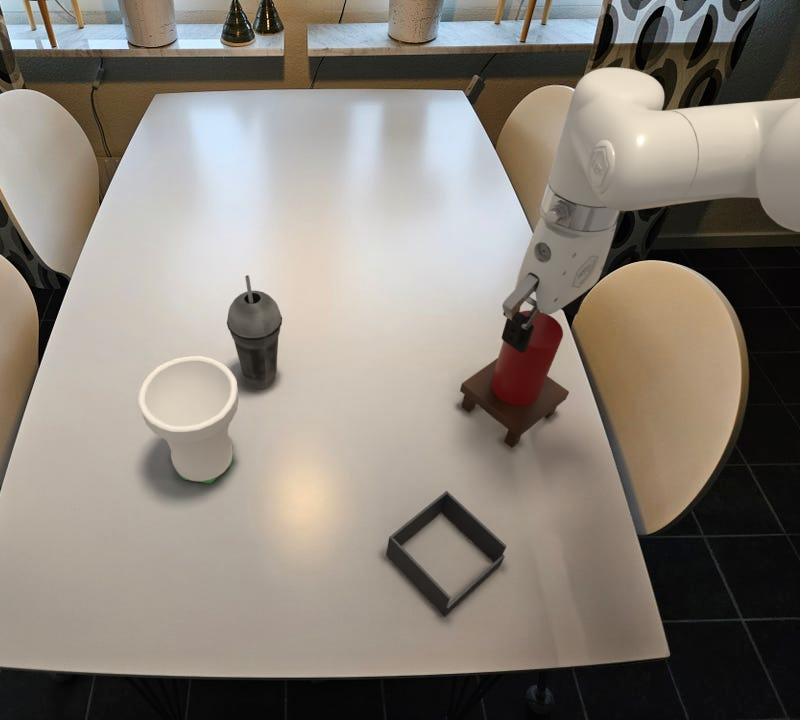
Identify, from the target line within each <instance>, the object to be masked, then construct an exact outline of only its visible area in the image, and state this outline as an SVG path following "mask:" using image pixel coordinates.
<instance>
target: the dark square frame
mask: <svg viewBox="0 0 800 720" xmlns="http://www.w3.org/2000/svg"><path fill="white" fill-rule="evenodd" d="M441 514H442V515H443V516H444V517H445V518H446V519H447V520H448V521H449V522H450V523H451V524H453V525H454V526H455V527H456V528H457V530H459V532H460V533H462V534H463V535H464V536H465V537H466V538H467V539H468V540H469V541H470V542H471V543H472V544H473V545H475V546H476V547H477V549H478V550H480V551H481V552H482V554H484V555H485V556H486V557H487V558H488V559H489V560H490V561H491V562H493V563H492V564H490V565H489V567H487V568H486V569H485V570H484V571H482V573H480V575H479V576H478V577H476V578H475V579H474V580H473V581H472V582H471V583H470V584H469V585H468V586H466V587H465V588H464V589H463V590H462V591H461V592H460V593H459V594H458V595H457V596H456V597H455V598H453V600H451V598H452V597H451V595H450V594H449V593H448V592H447V591H446V590H444V588H443V587H442V586H441V585H440V584H439V583H438V582H437V581H436V580H435V579H434V578H433V577H432V576H431V575H430V574H429V573H428V572H427V571H426V570H425V569H424V568H423V567H422V565H420V564H419V563H418V561H416V559H414V557H413V556H412V555H411V554H410V553H409V552H408V551H407V549H405V548H404V547H403V545H404V544H405V543H407V542H409V540H410V539H411V538H412V537H414V536H415V535H417V534H418V533H419V532H420V531H421V530H422V529H423V528H425V527H426V526H428V524H430V523H431V522H432V521H434V519H436V518H437V517H439V515H441ZM507 547H508V545H507V544H505V543H504V542H503V540H501V539H500V538H499V537H498V536H497V535H495V534H494V533H493V532H492V531H491V530H490V529H489V528H488V527H487V526H486V525H484V524H483V523H482V522H481V520H480V519H478V518H477V517H476V516H475V515H474V514H473V513H472V512H471V511H469V510H468V509H467V507H465V506H464V505H463V504H462V503H461V502H460V501H459V500H458V499H456V498H455V497H454V496H453V495H452V494H451V493H450V492H449V491H448V490H446V491H444V492H443V493H442V494H441V495H439V496H438V497H437V498H435V499H434V500H433V501H431V502H430V504H428V505H427V506H426V507H425V508H423V509H422V510H421V511H419V512H418V513H417V514H416V515H414V516H413V517H412V518H411V519H409V520H408V521H407V522H406V523H404V524H403V525H402V526H401V527H399V528H398V529H397V530H396V531H394V532H393V533H392V534H391V535H390V536H389V537H388V540H387V548H386V554H385V556H386V557H387V558H388V559H389V560H390V561H391V562H392V563H393V564H394V565H395V566H396V568H397V569H398V570H399V571H400V572H401V573H402V574H403V575H404V576H405V577H406V578H407V579H408V580H409V582H411V584H413V585H414V587H416V589H417V590H418V591H419V592H420V593H421V594H422V595H423V596H424V597H425V598H426V600H427V601H429V603H430V604H431V605H433V607H434V608H435V609H436V610H437V611H438V612H439V613H440V615H441V616H443V617H444V618H446V617H447V616H448V615H449V614H450V613H451V612H452V611H453V610H454V609H456V608H457V606H459V605H460V604H461V603H462V602H463V601H464V600H465V599H466V598H467V597H469V596H470V594H472V593H473V592H474V591H475V590H476V589H477V588H478V587H480V586H481V584H482V583H483V582H484V581H486V580H487V579H488V578H489V577H490V576H491V575H492V574H494V572H496V570H498V569H499V568H500V567H501V565H502V563H503V561H504V559H505V557H506V555H505V554H504V553H505V551H506V549H507ZM450 600H451V601H450Z"/></svg>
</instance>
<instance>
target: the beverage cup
mask: <svg viewBox="0 0 800 720" xmlns="http://www.w3.org/2000/svg"><path fill="white" fill-rule="evenodd" d="M244 278H245V283H246V290H247V291H245V292H242V293H240V294H239V295H238V296H236V297H235V298H234V299H233V301H232V303H231V304H230V305H229V308H228V313H227V319H226V325H227V330H229V332H230V335H231V338H232V340H233V342H234V346H235V348H236V349H235V350H236V354H237V358H238V361H239V366H240V369H241V373H242V376H243V379H244V382H245V384H246V385H247V386H248V387H249V388H251V389H254V390H265V389H268V388H270V387H271V386H272V385H274V383H275V381H276V375H277V368H278V350H279V349H278V348H279V335H280V332H281V328H282V327H281V326H282V324H283V317H282V313H281V310H280V308H279V306H278V303H277V302H276V300H275V299H273V298H272V297H271V295H269V294H267V293H266V292H264V291H260V290H252V286H251V285H252V284H251V278H250V275H248V274H246V275H245V276H244Z"/></svg>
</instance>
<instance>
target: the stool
mask: <svg viewBox="0 0 800 720" xmlns="http://www.w3.org/2000/svg"><path fill="white" fill-rule="evenodd" d="M497 360H498V357H497V358H495V359H494V360H492V361H491V362H490V363H489V364H487V365H485V366H484V367H483V368H481V369H479V371H477V372H476V373H474V374H473V375H472V376H470V377H469V378H467V379H466V380H464V381H463V382H461V385H460V388H459V392H460V393H462V394H463V398H462V402H461V405H460V407H461V408H462V409H463V410H464V411H465V412H467V413H468V414H469V413H471V411H473V410H474V409H475V408H476V406H478V407H479V408H481V409H482V410H483V411H484V412H486V413H487V414H488V415H489V416H490V417H492V418H493V419H494V420H496V421H497V422H498V423H499V424H501V425H502V426H503V427H504V428H505V429H506V430H507V431H506V434H505V437H504V440H503V443H505V444H506V445H507V446H508V447H509V448H510V449H513V448H514V447H516V446H517V445H518V444H519V443H520V440H521V438H522V435H524V434H525V433H526V432H527V431H529V430H530V429H531V428H533V426H535V425H536V424H538V422H540V421H541V420H543V418H545V419H546V420H548V419H550V418H551V417H552V416H554V414H555V412H556V410H557V408H558V407H559V406H560V405H561V404H562V403H563V402H564V401H566V400H567V398H568V396H569V395H570V391H569V390H568V389H566V388H565V387H564V386H563V385H561V384H559V383H558V382H556V381H555V380H554V379H552V377H549V376H548V375H547V377H546V380H545V382H544V385H543V387H542V389H541V392H540V394H539V397H538V398H537V400H536V401H535V402H533V403H531V404H529V405H525V406H515V405H511V404H508V403H505V402H504V401H502V400H500V399H499V398H498V397H497V396H496V395H495V394H494V392H493V391H492V388H491V379H492V376H493V373H494V369H495V366H496V363H497Z"/></svg>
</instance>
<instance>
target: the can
mask: <svg viewBox="0 0 800 720" xmlns="http://www.w3.org/2000/svg"><path fill="white" fill-rule="evenodd" d="M530 311H531V309H529V310H522V311H520V313H522V314H523V315H524V316H526V317H527V316H528V314H529V313H530ZM531 325H533V326H534V329H533V332H532V335H531V338H530V341H529V344H528V347H527V350H526V351H525V352H523V353H521V352H519V351H518V350H516V349H515V348H513V347H512V346H510V345H509V344H507V343H506V342H505V341H503V340H502V344H501V347H500V351H499V354H498V357H497V358H498V360H497V363H496V366H495V369H494V373H493V376H492V379H491V388H492V391H493V392H494V394H495V395H496V396H497V397H498V398H499V399H500V400H502V401H504V402H505V403H508V404H511V405H515V406H525V405H529V404H531V403H533V402H535V401H536V400H537V398H538V397H539V394H540V392H541V389H542V387H543V385H544V382H545V380H546V377H547V376H548V374H549V372H550V370H551V367H552V365H553V363H554V360H555V358H556V356H557V353H558V350H559V348H560V345H561V343H562V340H563V338H564V329H563V327H562V325H561V323H560V322H559V321H558V320H557V319H555V318H554V317H553V316H552V315H551V314H544V313H543V312H541V311H540V313H539V314H538V316H537V317H536V319H535V320H534V321H533V323H532V324H531Z"/></svg>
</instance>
